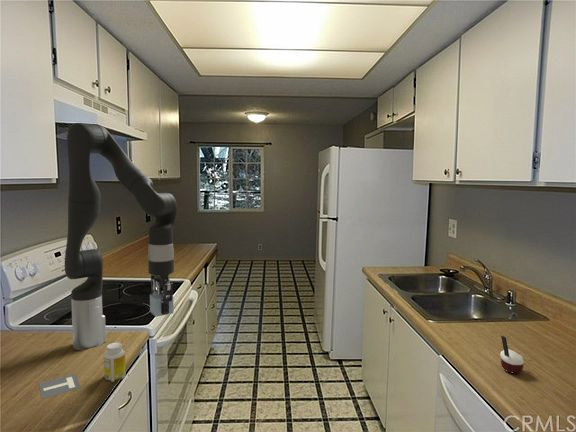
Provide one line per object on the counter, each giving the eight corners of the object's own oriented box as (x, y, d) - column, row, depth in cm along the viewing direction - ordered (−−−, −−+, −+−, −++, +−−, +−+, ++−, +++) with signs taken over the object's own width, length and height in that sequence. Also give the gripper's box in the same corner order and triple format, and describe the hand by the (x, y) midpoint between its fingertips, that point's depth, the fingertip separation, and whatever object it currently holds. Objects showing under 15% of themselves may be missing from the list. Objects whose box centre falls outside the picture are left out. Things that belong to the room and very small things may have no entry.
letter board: (39, 385, 105) (39, 383, 105) (75, 376, 111) (75, 373, 111) (42, 401, 98) (41, 398, 98) (81, 390, 103) (80, 387, 103)
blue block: (150, 311, 118) (149, 294, 118) (167, 308, 122) (167, 291, 121) (155, 316, 114) (155, 299, 114) (173, 313, 117) (173, 296, 117)
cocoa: (518, 367, 123) (522, 332, 122) (530, 377, 117) (535, 339, 116) (489, 365, 123) (493, 329, 122) (499, 375, 117) (504, 337, 116)
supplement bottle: (128, 373, 113) (127, 340, 112) (121, 384, 107) (121, 349, 106) (108, 374, 112) (107, 341, 111) (101, 384, 107) (100, 350, 106)
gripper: (181, 260, 113) (182, 315, 114) (165, 252, 124) (165, 302, 126) (156, 264, 108) (157, 320, 110) (141, 254, 120) (142, 306, 121)
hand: (161, 310), depth 118 cm, fingers closed on blue block, 5 cm apart
